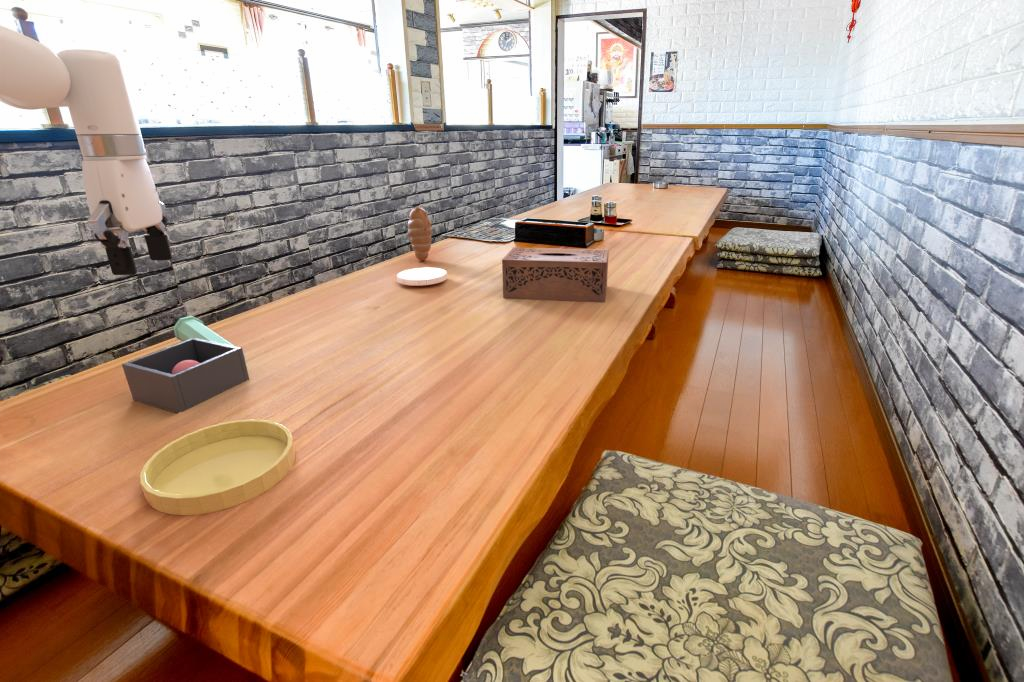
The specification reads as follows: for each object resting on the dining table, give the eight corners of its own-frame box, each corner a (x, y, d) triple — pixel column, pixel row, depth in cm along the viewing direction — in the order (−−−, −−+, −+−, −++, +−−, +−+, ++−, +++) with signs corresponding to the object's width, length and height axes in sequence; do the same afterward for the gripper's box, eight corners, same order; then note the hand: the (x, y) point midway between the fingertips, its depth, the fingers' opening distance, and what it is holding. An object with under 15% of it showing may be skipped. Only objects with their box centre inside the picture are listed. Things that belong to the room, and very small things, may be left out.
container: (240, 341, 96) (192, 310, 112) (210, 361, 93) (166, 327, 109) (258, 364, 99) (210, 331, 115) (230, 385, 97) (185, 348, 112)
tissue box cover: (503, 297, 136) (502, 259, 132) (514, 282, 149) (513, 247, 145) (604, 302, 131) (606, 262, 127) (606, 285, 144) (608, 249, 140)
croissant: (430, 264, 171) (426, 207, 165) (407, 263, 172) (401, 207, 165) (437, 257, 180) (433, 203, 173) (414, 257, 180) (409, 203, 174)
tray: (210, 536, 58) (203, 514, 57) (115, 495, 65) (108, 475, 64) (324, 453, 72) (320, 434, 71) (236, 427, 79) (232, 409, 78)
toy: (188, 397, 87) (180, 369, 85) (168, 391, 89) (161, 364, 87) (215, 384, 91) (208, 358, 90) (196, 379, 93) (189, 353, 92)
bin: (182, 415, 83) (171, 377, 80) (133, 400, 88) (121, 364, 85) (250, 382, 93) (242, 347, 91) (202, 370, 98) (193, 337, 96)
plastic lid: (406, 291, 143) (405, 282, 142) (391, 280, 154) (391, 271, 153) (454, 284, 149) (454, 275, 148) (437, 273, 160) (436, 265, 159)
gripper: (122, 147, 83) (150, 255, 90) (40, 150, 67) (80, 281, 73) (172, 147, 84) (196, 254, 90) (101, 150, 68) (137, 280, 74)
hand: (144, 266), depth 82 cm, fingers open, 9 cm apart
